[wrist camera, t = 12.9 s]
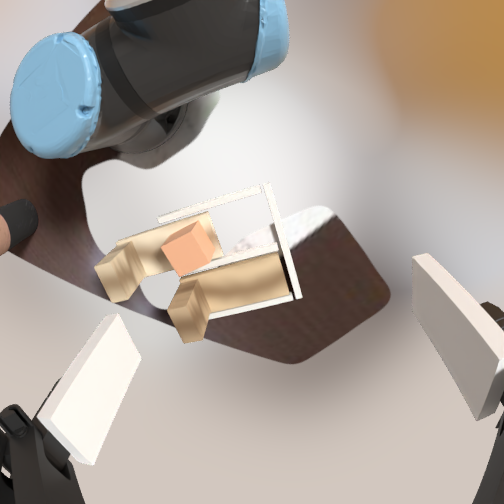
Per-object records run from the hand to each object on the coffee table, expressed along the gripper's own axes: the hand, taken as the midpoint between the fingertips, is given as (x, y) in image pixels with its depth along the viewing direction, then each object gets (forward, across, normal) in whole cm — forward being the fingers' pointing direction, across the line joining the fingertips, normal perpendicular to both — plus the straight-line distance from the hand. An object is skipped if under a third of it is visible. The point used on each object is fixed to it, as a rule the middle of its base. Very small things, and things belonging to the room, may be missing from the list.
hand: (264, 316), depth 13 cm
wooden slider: (+34, -17, -6) cm, 39 cm away
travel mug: (+34, -45, +6) cm, 56 cm away
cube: (+32, -13, -6) cm, 35 cm away
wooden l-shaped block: (+34, -9, -15) cm, 38 cm away
